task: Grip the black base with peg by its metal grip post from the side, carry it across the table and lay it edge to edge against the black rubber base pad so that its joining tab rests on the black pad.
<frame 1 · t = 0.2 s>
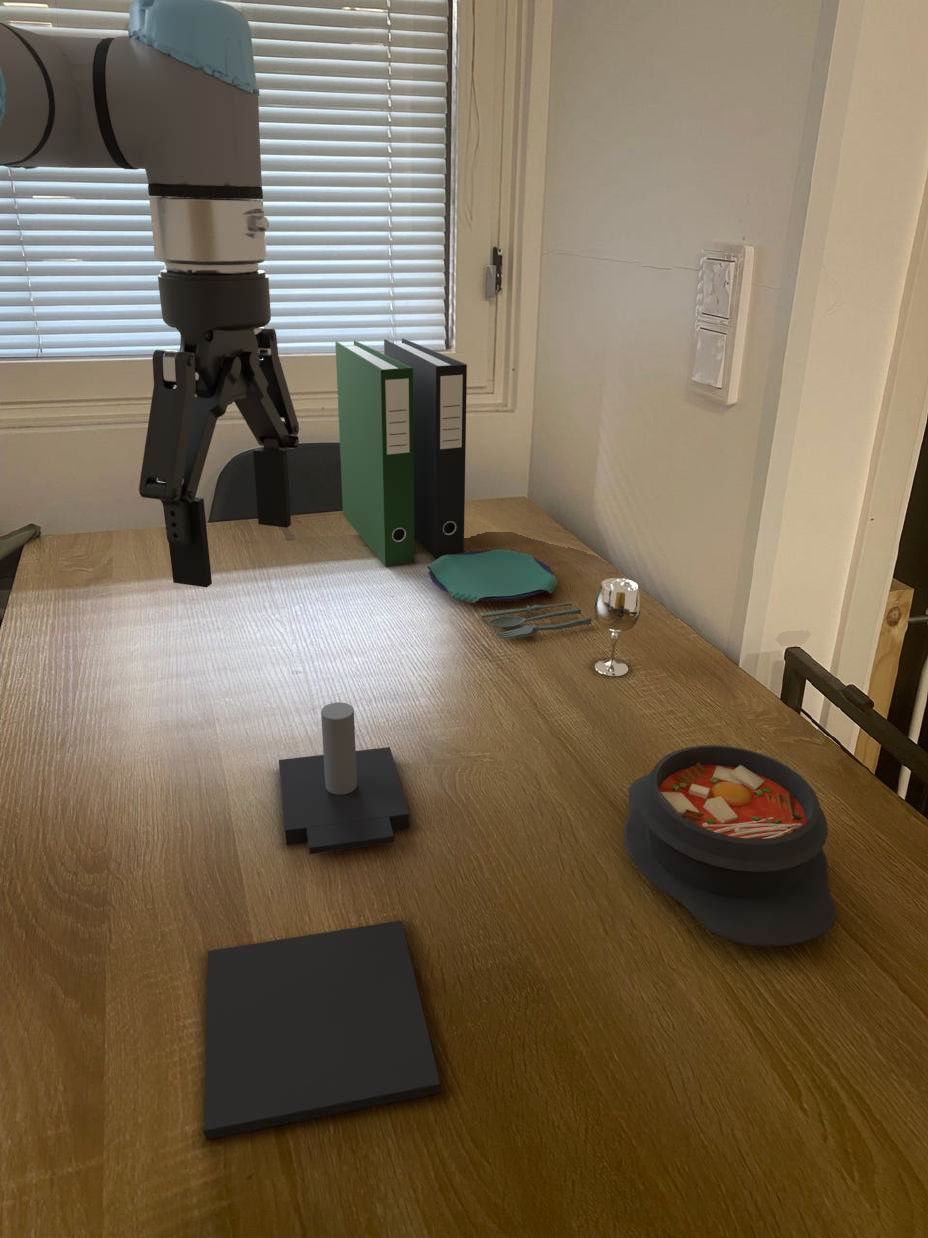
hand: (237, 552, 72), 31 cm above the table, tool pointing down, fingers open, 13 cm apart
binder: (399, 535, 164), on the table
casserole: (720, 863, 86), on the table
wineglass: (611, 669, 120), on the table
black pad: (316, 1021, 69), on the table
black base with peg: (341, 800, 94), on the table
cutlery set: (502, 597, 141), on the table
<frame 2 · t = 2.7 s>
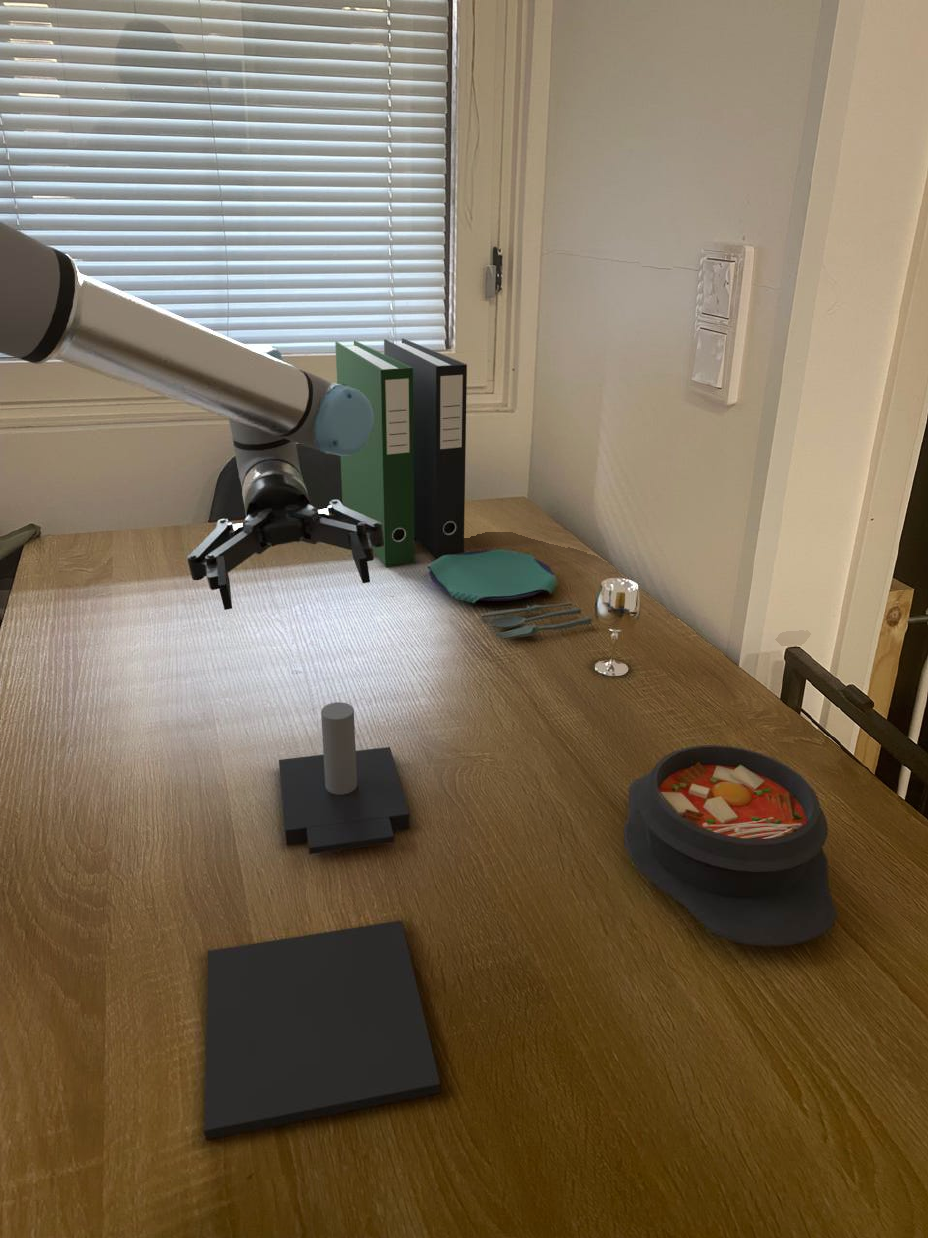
hand: (296, 584, 88), 22 cm above the table, tool horizontal, fingers open, 13 cm apart
nothing on the table moved.
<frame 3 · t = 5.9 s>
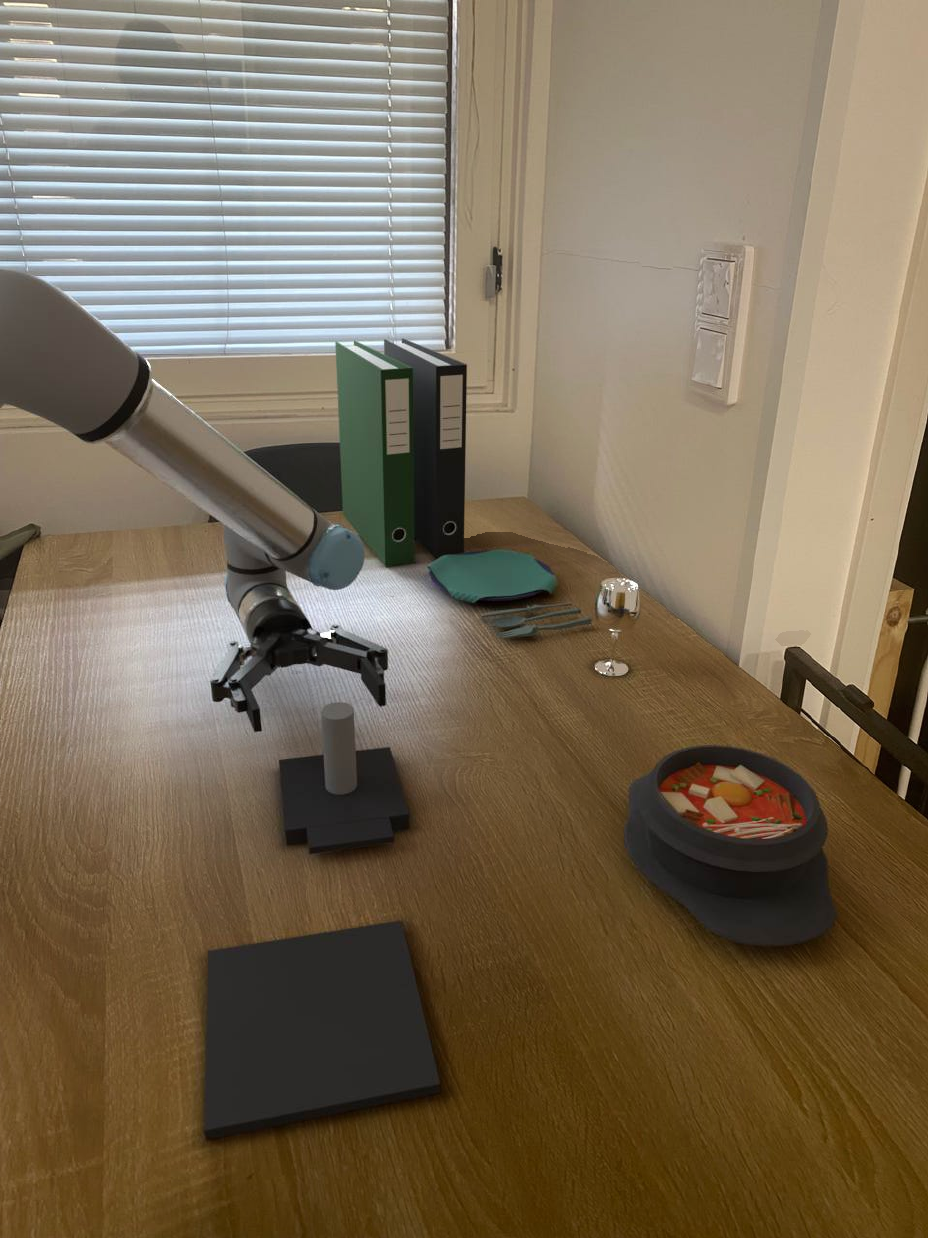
hand: (321, 708, 96), 7 cm above the table, tool horizontal, fingers open, 13 cm apart
nothing on the table moved.
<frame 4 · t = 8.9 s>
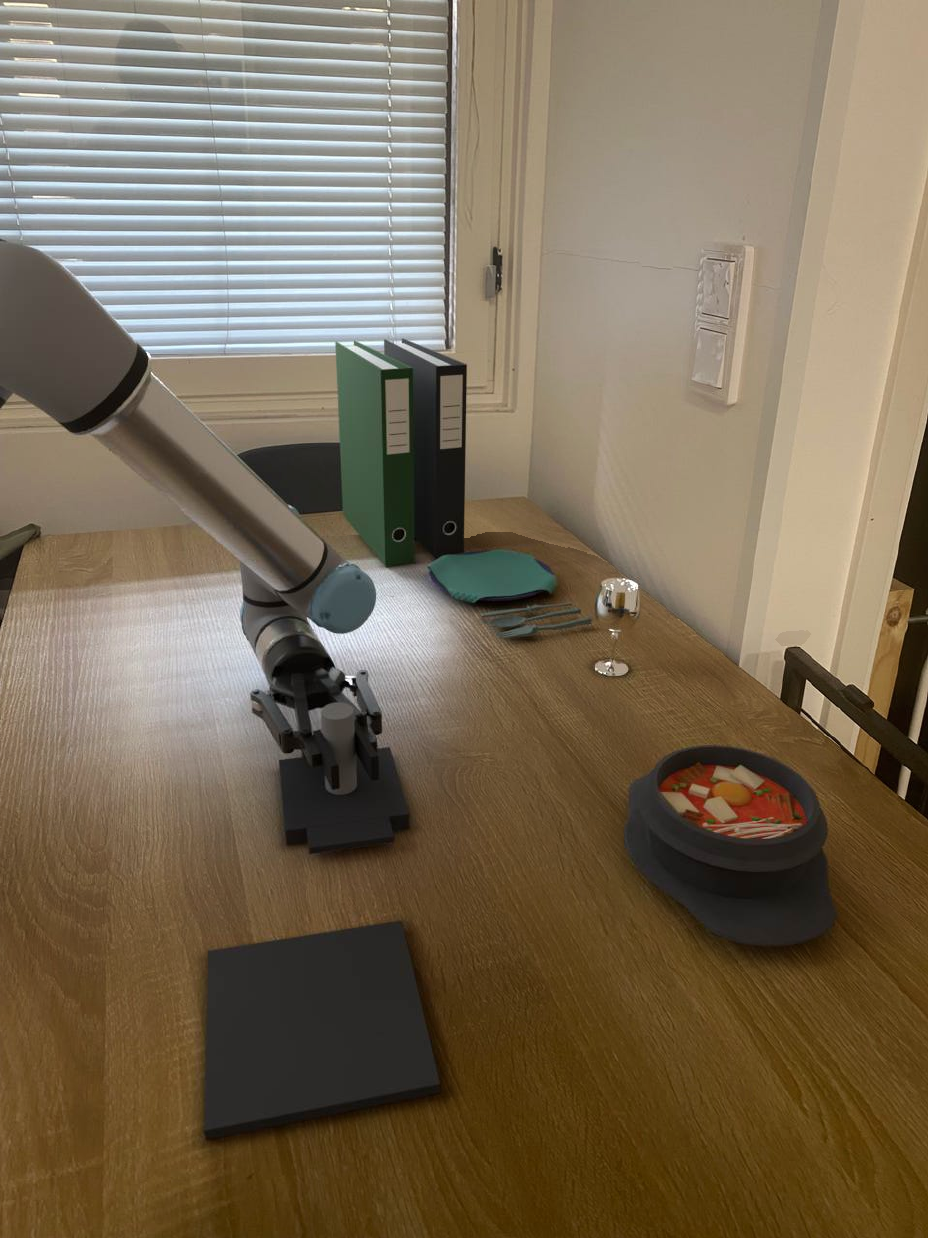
hand: (355, 772, 86), 7 cm above the table, tool horizontal, fingers closed on black base with peg, 3 cm apart
black base with peg: (341, 800, 94), on the table, touching gripper
everything else where it was.
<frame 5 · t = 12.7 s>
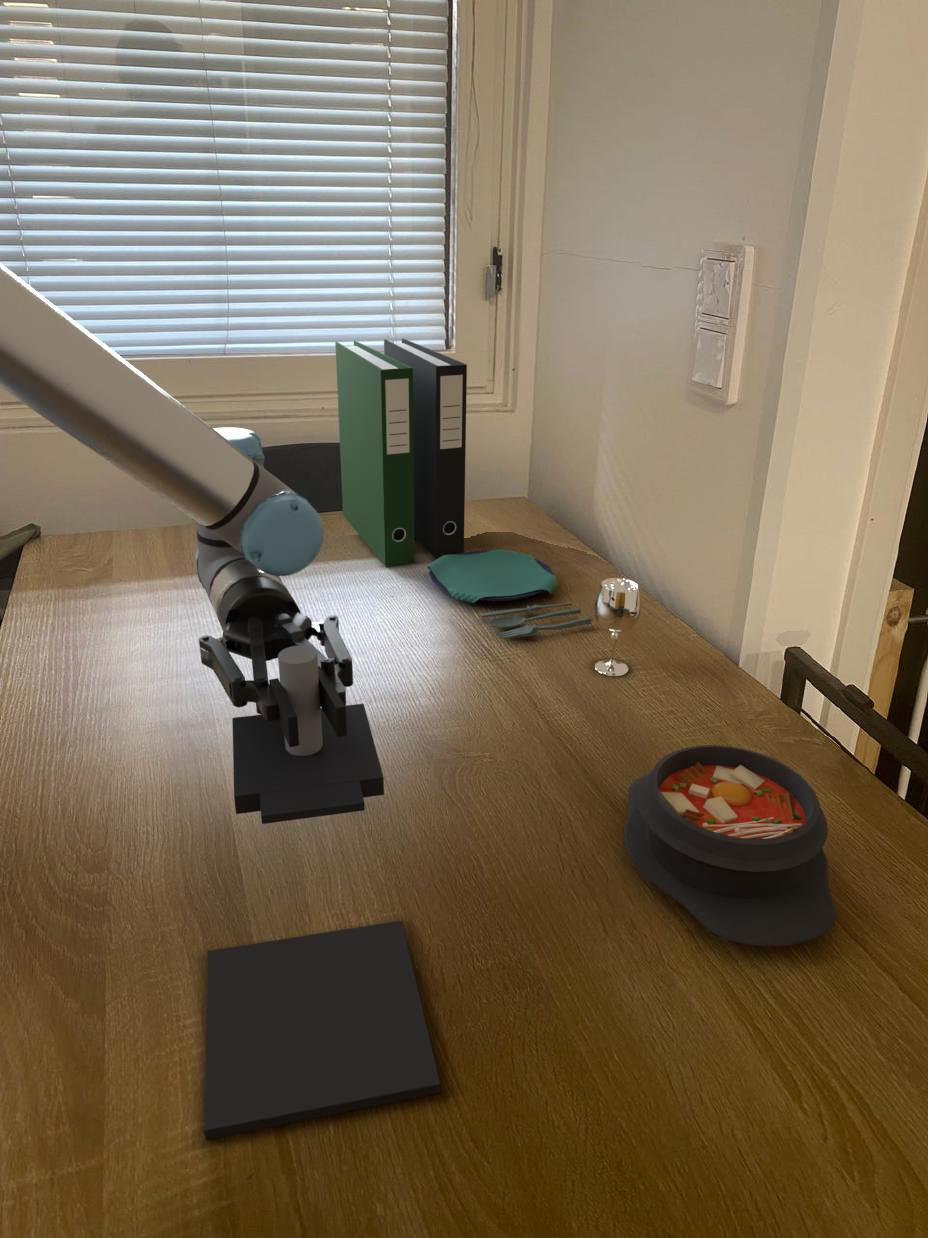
hand: (317, 726, 72), 19 cm above the table, tool horizontal, fingers closed on black base with peg, 3 cm apart
black base with peg: (305, 763, 80), point 12 cm above the table, touching gripper
everything else where it was.
when the fingers open (7 cm above the table, at t = 16.4 s): black base with peg stays where it is, on the table.
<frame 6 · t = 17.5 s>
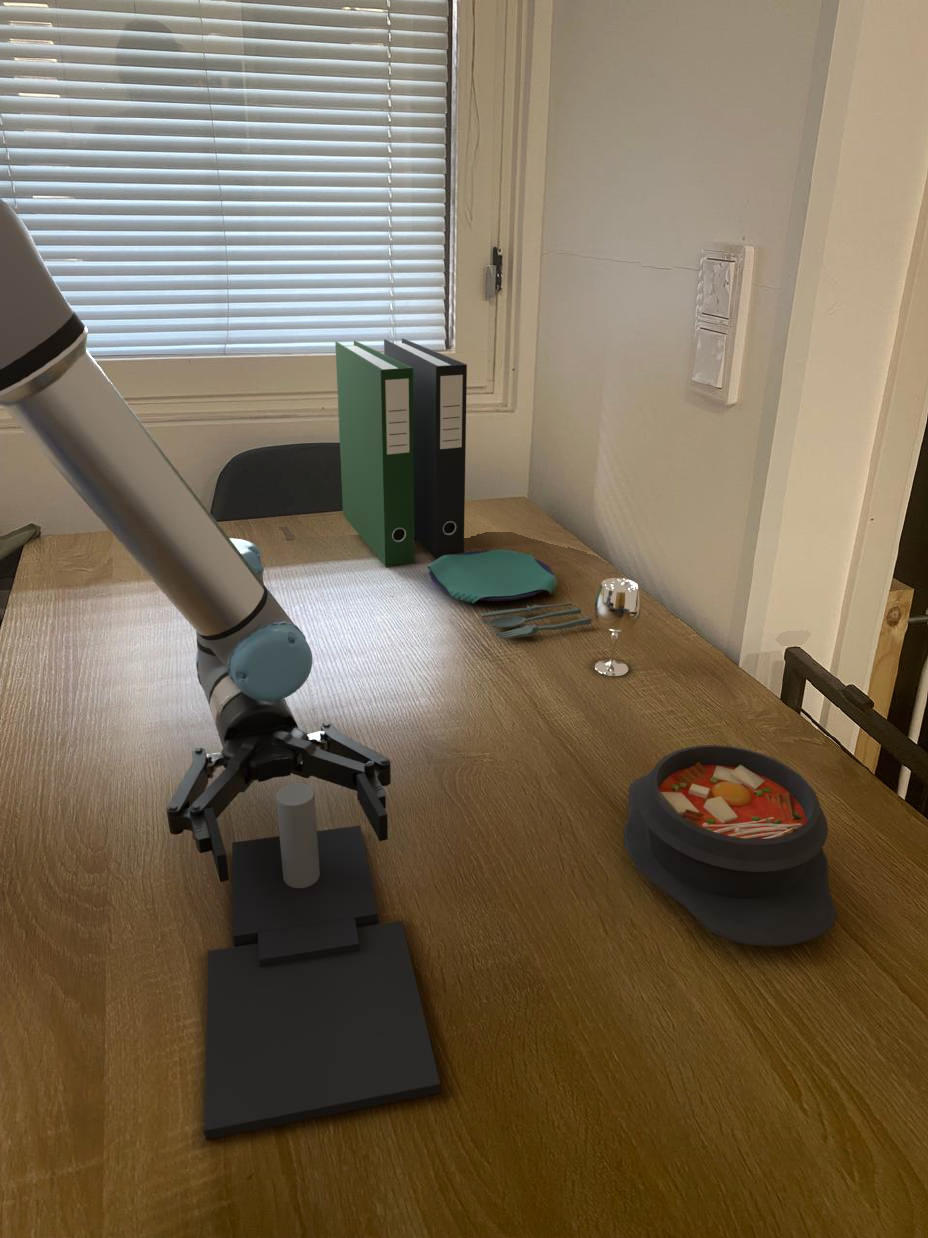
hand: (306, 848, 76), 8 cm above the table, tool horizontal, fingers open, 13 cm apart
black base with peg: (302, 891, 82), on the table
everything else where it was.
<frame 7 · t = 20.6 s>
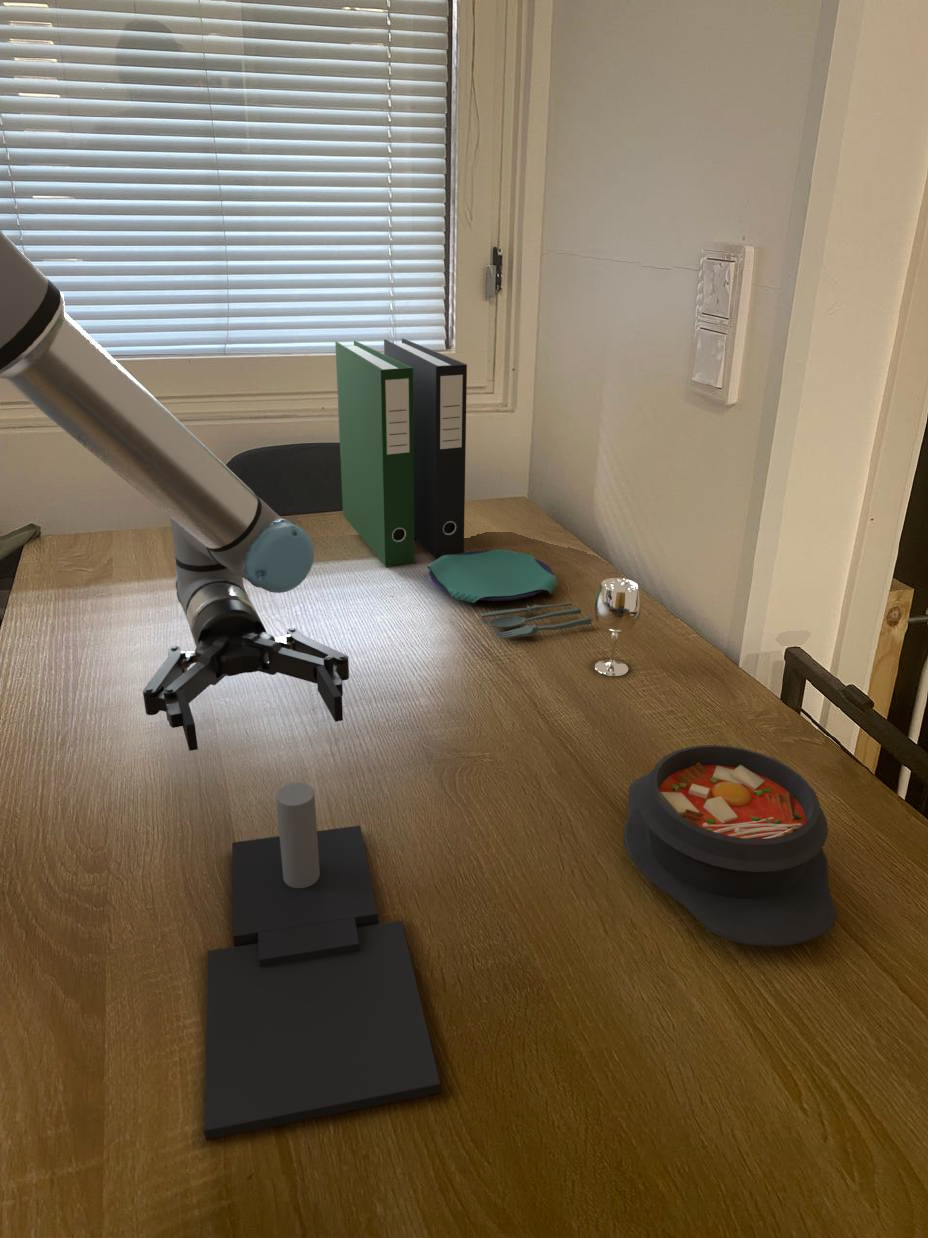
hand: (267, 723, 84), 12 cm above the table, tool horizontal, fingers open, 13 cm apart
black base with peg: (302, 891, 82), on the table, touching black pad
everything else where it was.
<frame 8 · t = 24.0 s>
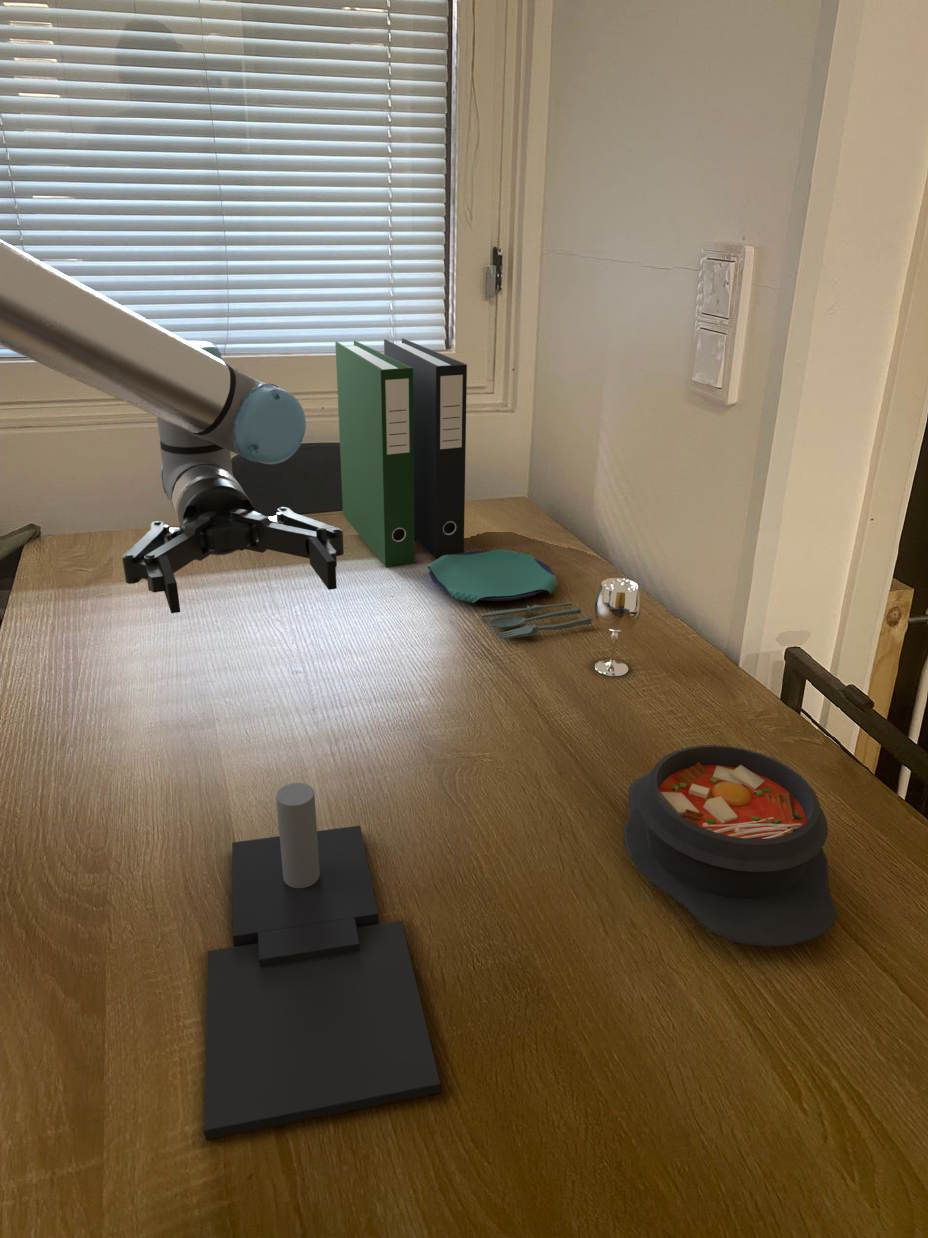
hand: (255, 586, 78), 26 cm above the table, tool horizontal, fingers open, 13 cm apart
nothing on the table moved.
at the end: black base with peg 0.1 cm from the target spot on the table beside the black pad, on the table; black base with peg touching black pad, table; black base with peg tilted 0° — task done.
